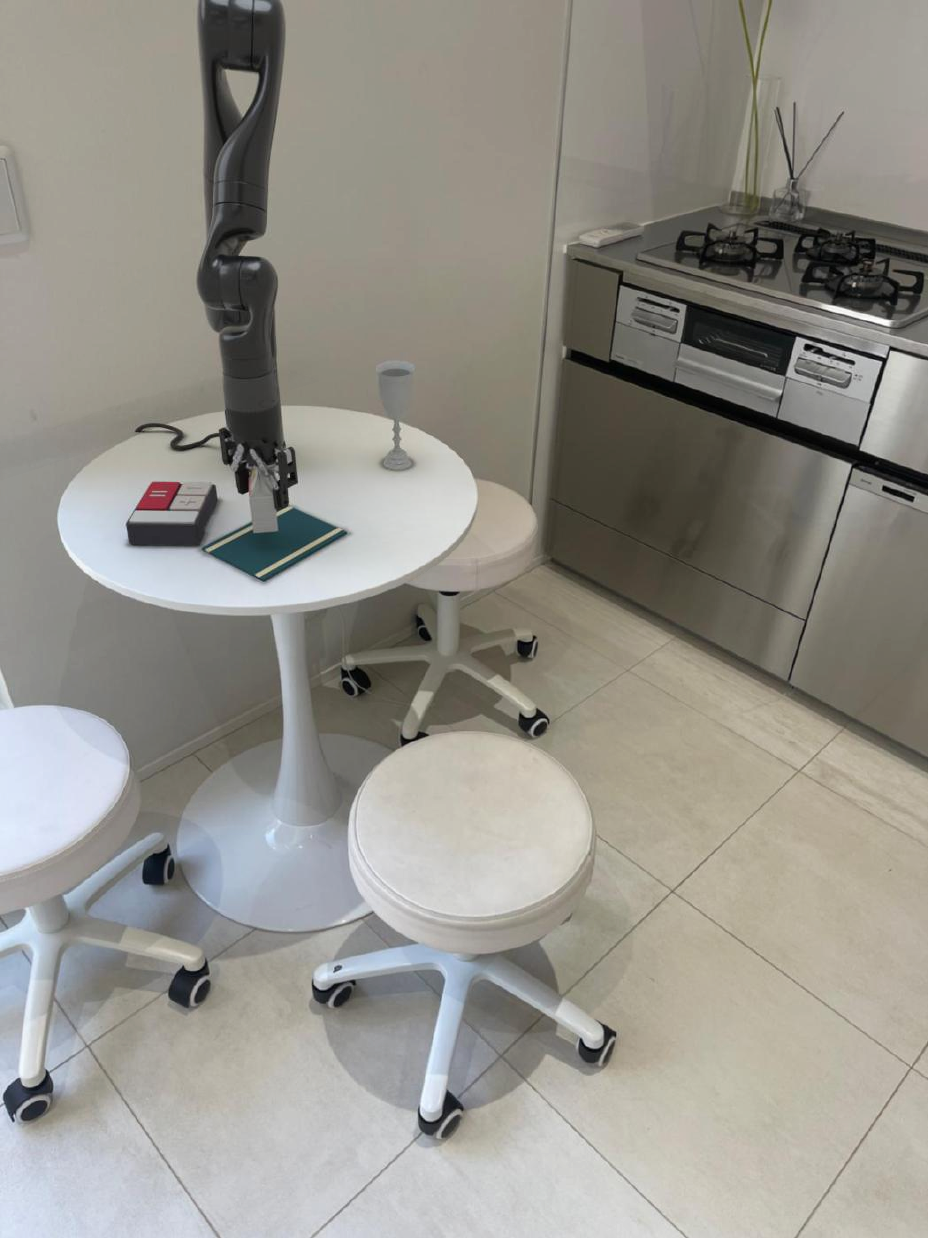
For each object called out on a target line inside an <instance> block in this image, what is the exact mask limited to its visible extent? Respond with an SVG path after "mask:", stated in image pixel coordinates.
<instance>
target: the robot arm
mask: <svg viewBox="0 0 928 1238" xmlns="http://www.w3.org/2000/svg"><path fill="white" fill-rule="evenodd" d="M196 7H197V8H196V30H197V31H196V33H197V47H198V56H199V57H198V58H199V72H200V84H201V85H200V86H201V97H202V98H201V99H202V110H203V111H202V113H203V146H202V147H203V151H202V152H203V153H202V155H203V156H202V159H203V161H202V164H203V165H202V172H203V173H202V174H203V177H202V178H203V197H204V198H203V200H204V215H205V216H204V217H205V245H204V248H203V250H202V254H201V256H200V260H199V263H198V266H197V271H196V280H195V281H196V282H195V283H196V290H197V294H198V296H199V299H200V300H201V302H202V303H203V308H204V313H205V317H206V320H207V323H208V325H209V327H210V328H211V330H213V331H214V332H215V333H216V334H218V348H219V356H220V363H221V371H222V392H223V399H224V408H225V409H224V416H225V417H224V418H225V424H226V425H225V426H223V427H221V428H219V429H218V432H215V433H211V434H208V435H207V436H205V437H204V438H203V439H201V440H199V441H196V442H192V443H189V444H181V445H180V444H179V445H178V444H176V443H178V441H180V440H181V439H182V438H183V436H184V432H183V430H181V429H180V428H177V427H175V426H172V425H169V424H165V423H160V422H150V423H143V424H141V425H140V426H138V427H136V428H135V430H134V432H135V433H140V432H141V431H143V430H145V429H149V428H161V429H165V430H169V431H172V432H175V433H176V434H177V435H176V436H175V437H174V438H173V439H171V440H170V442H169V446H170V448H171V449H174V450H179V451H183V450H190V449H193V448H197V447H199V446H202V445H204V444H207V442H209V441H210V440H212V439H215V438H218V439H219V444H220V453H221V460H222V464H223V465H225V466H230V469H231V471H232V472H233V473H234V474H233V475H234V480H235V487H236V489H237V494H239V495H245V494H247V493H249V480H248V478H249V475H250V473H251V472H250V471H251V470H252V468H253V465H255V466H256V467H259V468H260V470H261V472H262V473H263V475H264V476H265V477H268V479H269V481H270V483H271V484H272V486H273V499H274V508H275V509H276V510H278V511H281V510H283V509H284V508H286V507H287V506H290V497H289V488H291V487H294V486H295V485H297V484H299V478H298V469H297V458H296V450H295V449H294V447H292V446H289V447H287V444H286V441H285V433H284V423H283V413H282V403H281V393H280V382H279V374H278V363H277V357H278V355H277V354H278V348H277V333H276V308H275V307H276V301H277V296H278V289H279V276H278V273H277V271H276V269H275V267H274V265H273V264H272V263H271V261H270V260H268V259H267V258H265V257H263V256H257V255H240V254H241V252H242V250H243V249H244V248H245V246H246V245H247V243H248V242H250V241H251V242H252V241H256V240H258V239H261V238H262V237H264V236H265V234H266V231H267V225H268V202H269V201H268V200H269V177H270V164H271V155H272V148H273V143H274V136H275V130H276V125H277V118H278V111H279V103H280V96H281V88H282V81H283V72H284V62H285V54H286V53H285V51H286V38H287V37H286V36H287V35H286V34H287V33H286V32H287V26H286V24H287V23H286V13H285V8H284V5H283V2H282V0H197V6H196ZM227 70H228V71H233V72H239V73H246V74H253V75H257V82H256V87H255V92H254V95H253V98H252V100H251V102H250V104H249V106H248V108H247V110H246V112H245V114H244V115H242V113H241V111H240V109H239V107H238V105H237V103H236V101H235V99H234V96H233V94H232V93H233V92H232V90H231V87H230V84H229V81H228V77H227V73H226V71H227ZM276 473H277V475H278V476H279V479H277V476H276V475H275V474H276ZM288 475H289V476H288Z"/></svg>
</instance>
